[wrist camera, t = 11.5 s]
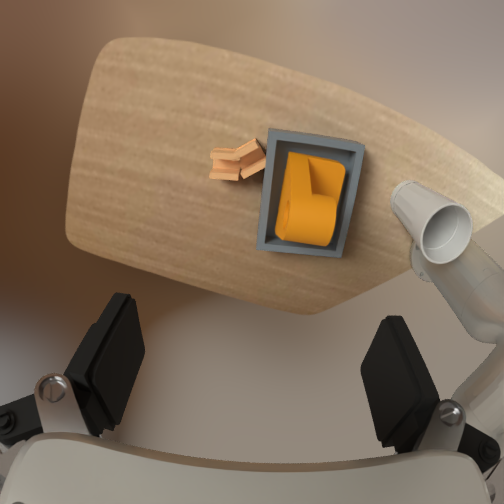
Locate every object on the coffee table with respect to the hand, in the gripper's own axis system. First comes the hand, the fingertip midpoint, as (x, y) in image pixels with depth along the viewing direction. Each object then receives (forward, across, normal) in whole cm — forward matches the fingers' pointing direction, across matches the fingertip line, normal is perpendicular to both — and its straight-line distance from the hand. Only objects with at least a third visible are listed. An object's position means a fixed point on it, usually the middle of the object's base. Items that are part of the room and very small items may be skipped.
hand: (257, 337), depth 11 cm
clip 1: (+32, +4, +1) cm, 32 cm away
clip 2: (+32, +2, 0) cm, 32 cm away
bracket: (+31, -7, +4) cm, 32 cm away
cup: (+32, -22, +3) cm, 39 cm away
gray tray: (+32, -6, +4) cm, 33 cm away
